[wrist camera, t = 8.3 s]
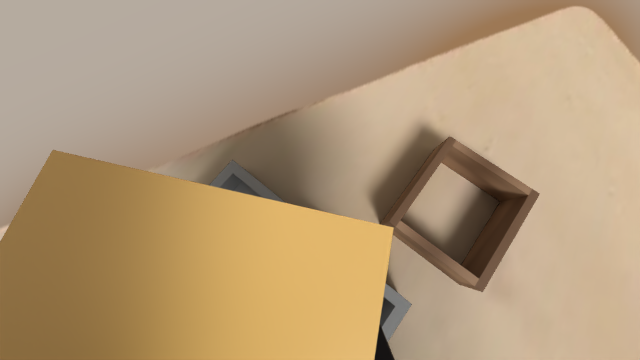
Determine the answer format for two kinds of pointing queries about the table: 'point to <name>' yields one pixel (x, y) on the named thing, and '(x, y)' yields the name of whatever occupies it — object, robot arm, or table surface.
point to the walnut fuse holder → (497, 230)
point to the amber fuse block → (182, 272)
